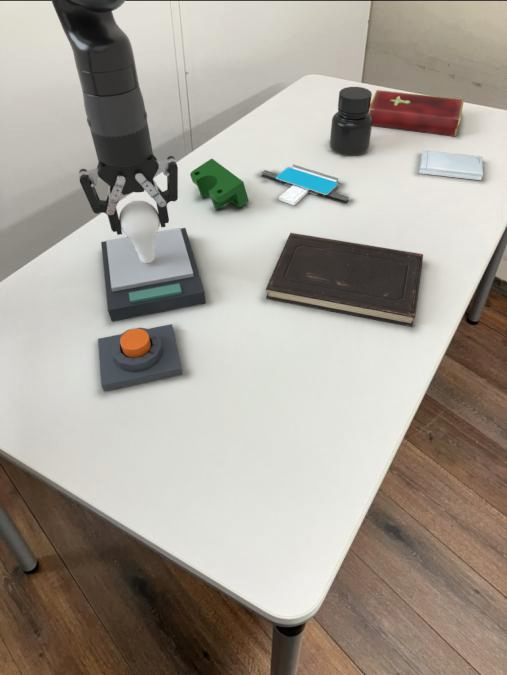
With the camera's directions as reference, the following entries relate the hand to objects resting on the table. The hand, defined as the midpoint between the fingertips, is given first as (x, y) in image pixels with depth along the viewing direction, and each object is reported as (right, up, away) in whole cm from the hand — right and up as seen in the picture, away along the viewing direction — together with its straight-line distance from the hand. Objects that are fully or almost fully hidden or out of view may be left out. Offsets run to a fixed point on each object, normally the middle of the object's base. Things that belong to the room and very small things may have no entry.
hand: (141, 227), depth 79 cm
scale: (0, -7, +7) cm, 10 cm away
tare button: (+1, -18, -7) cm, 20 cm away
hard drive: (+59, +19, +30) cm, 69 cm away
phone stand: (+27, +13, +25) cm, 39 cm away
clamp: (+11, +10, +23) cm, 28 cm away
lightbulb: (0, -5, +5) cm, 7 cm away
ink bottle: (+39, +26, +37) cm, 60 cm away
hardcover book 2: (+57, +36, +46) cm, 81 cm away
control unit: (+1, -20, -5) cm, 21 cm away
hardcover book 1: (+33, -8, +6) cm, 34 cm away
